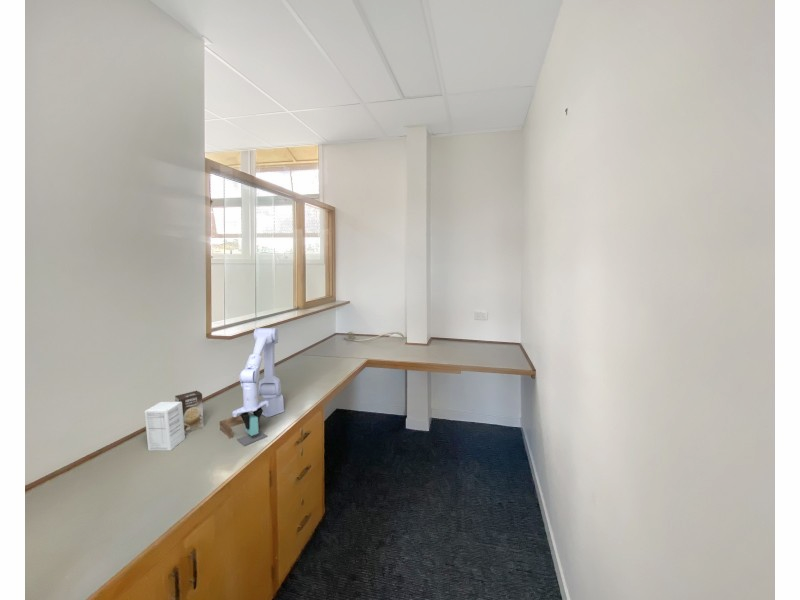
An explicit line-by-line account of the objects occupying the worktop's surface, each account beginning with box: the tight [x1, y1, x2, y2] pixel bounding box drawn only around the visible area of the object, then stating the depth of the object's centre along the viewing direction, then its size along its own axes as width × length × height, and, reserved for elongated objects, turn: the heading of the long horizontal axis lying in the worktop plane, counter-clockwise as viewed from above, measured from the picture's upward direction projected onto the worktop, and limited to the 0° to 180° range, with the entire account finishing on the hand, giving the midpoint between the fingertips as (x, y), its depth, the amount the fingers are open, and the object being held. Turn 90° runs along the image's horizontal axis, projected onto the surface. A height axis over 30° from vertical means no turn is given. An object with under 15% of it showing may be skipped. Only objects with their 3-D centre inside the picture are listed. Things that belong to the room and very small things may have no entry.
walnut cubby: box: [219, 411, 260, 439], centre depth 149 cm, size 13×11×4 cm
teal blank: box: [244, 412, 259, 436], centre depth 140 cm, size 3×6×7 cm, turn 48°
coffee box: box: [174, 390, 205, 434], centre depth 148 cm, size 9×6×16 cm
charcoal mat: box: [236, 429, 268, 447], centre depth 141 cm, size 10×7×1 cm
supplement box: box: [144, 401, 186, 452], centre depth 135 cm, size 10×9×17 cm
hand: (251, 426), depth 140 cm, fingers closed on teal blank, 3 cm apart
